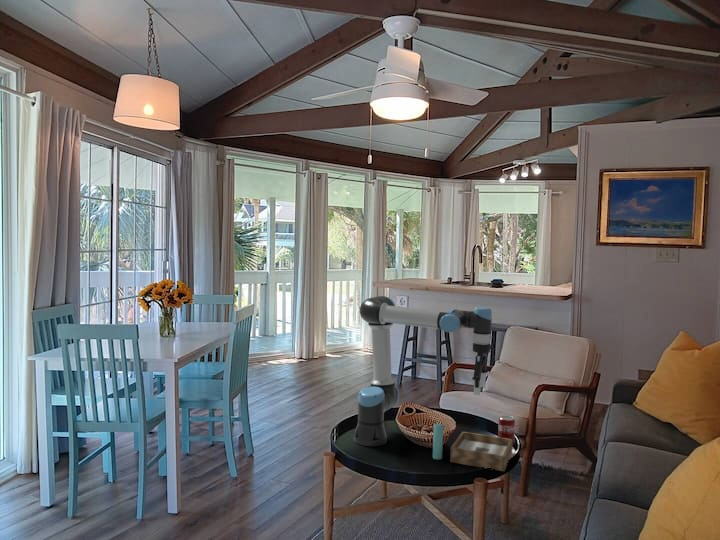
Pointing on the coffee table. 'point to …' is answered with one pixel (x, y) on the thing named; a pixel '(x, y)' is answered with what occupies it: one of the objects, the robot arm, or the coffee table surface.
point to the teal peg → (437, 441)
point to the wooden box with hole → (481, 451)
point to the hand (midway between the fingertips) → (479, 391)
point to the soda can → (506, 427)
